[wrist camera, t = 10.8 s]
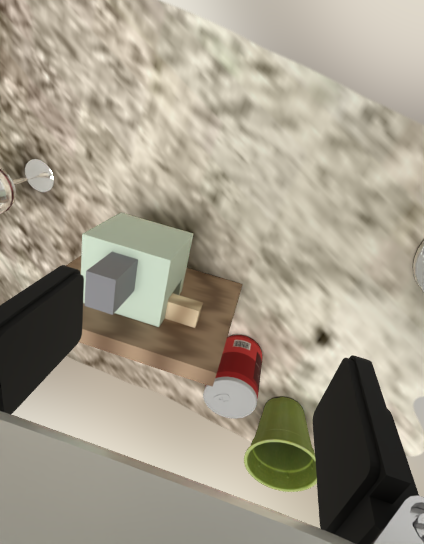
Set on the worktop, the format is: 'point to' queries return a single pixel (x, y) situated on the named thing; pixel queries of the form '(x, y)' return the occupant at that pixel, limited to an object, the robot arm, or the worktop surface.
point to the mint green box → (133, 267)
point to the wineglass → (37, 174)
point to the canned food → (236, 379)
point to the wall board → (172, 328)
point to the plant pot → (282, 448)
